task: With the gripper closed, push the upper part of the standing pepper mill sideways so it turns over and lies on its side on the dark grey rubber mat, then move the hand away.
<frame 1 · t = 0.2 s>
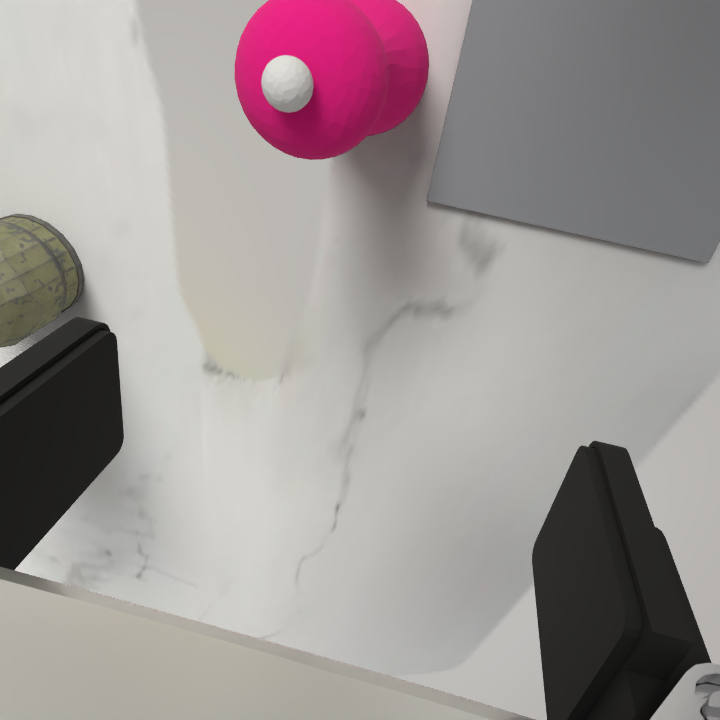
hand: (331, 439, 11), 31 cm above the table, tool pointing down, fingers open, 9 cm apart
mat: (606, 111, 35), on the table
pepper mill: (377, 64, 36), on the table
thermos: (37, 264, 48), on the table
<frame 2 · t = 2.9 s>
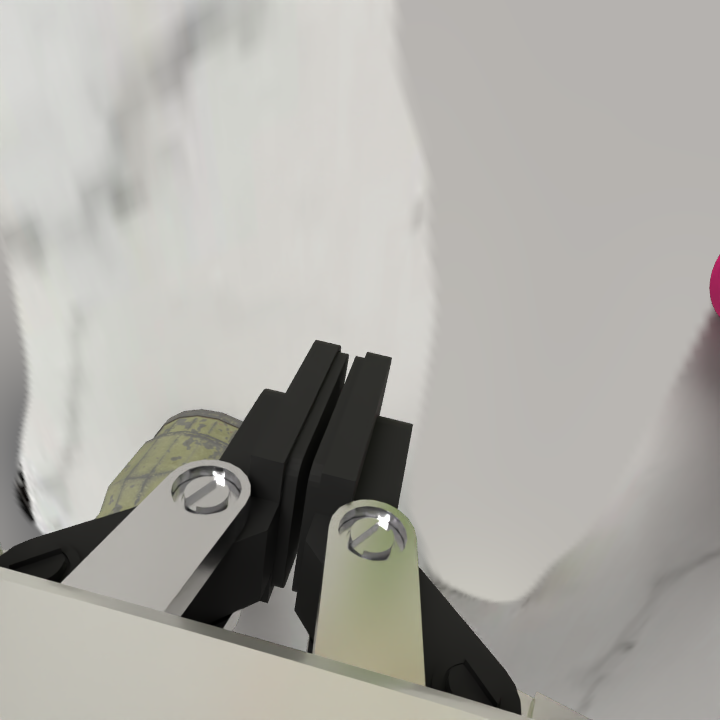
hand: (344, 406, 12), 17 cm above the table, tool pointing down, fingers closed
thermos: (218, 462, 38), on the table
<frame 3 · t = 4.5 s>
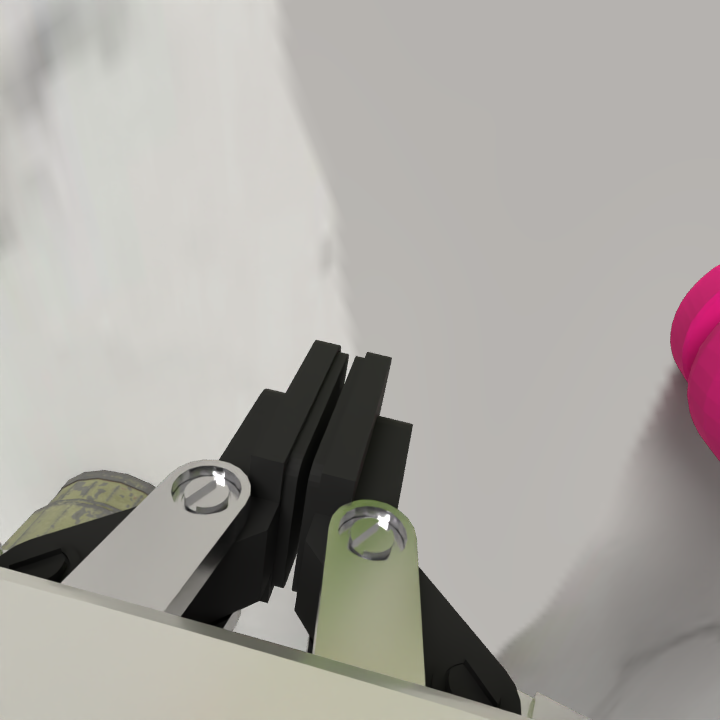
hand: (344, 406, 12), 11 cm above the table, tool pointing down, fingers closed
thermos: (129, 526, 33), on the table
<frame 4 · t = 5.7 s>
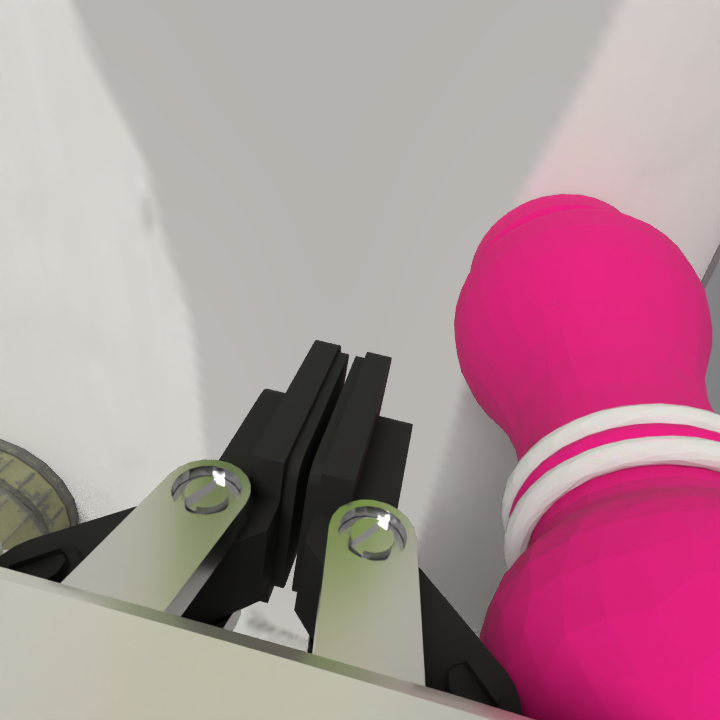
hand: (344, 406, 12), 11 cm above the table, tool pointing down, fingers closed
pepper mill: (553, 275, 21), on the table, touching gripper
thermos: (12, 493, 34), on the table
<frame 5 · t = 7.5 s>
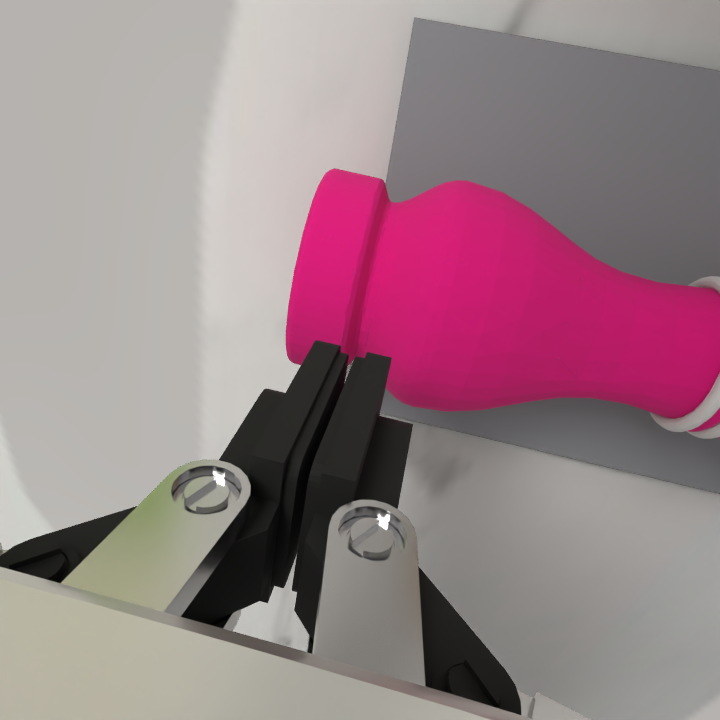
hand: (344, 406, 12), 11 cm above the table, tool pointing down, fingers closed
mat: (625, 294, 21), on the table
pepper mill: (304, 265, 18), point 4 cm above the table, touching mat
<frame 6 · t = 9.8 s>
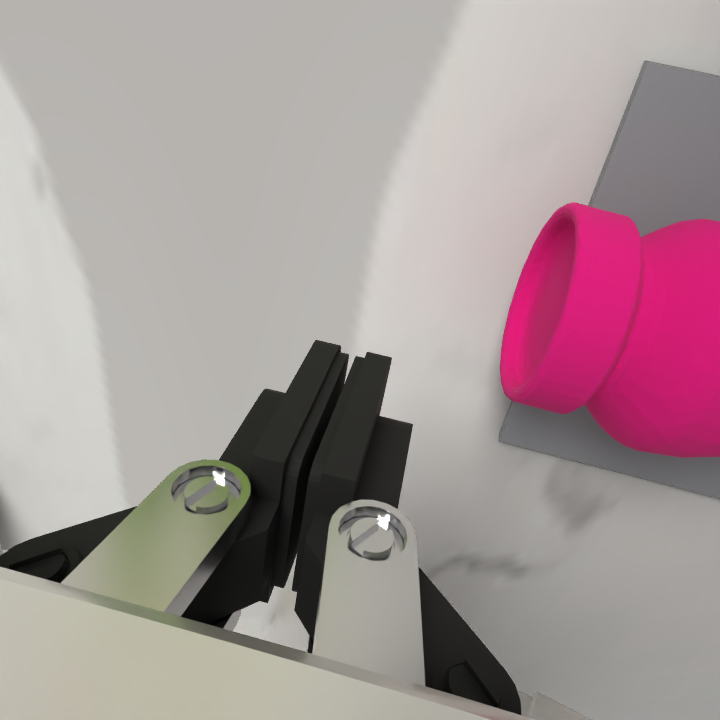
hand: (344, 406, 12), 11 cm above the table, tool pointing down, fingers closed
pepper mill: (527, 300, 18), point 4 cm above the table, touching mat
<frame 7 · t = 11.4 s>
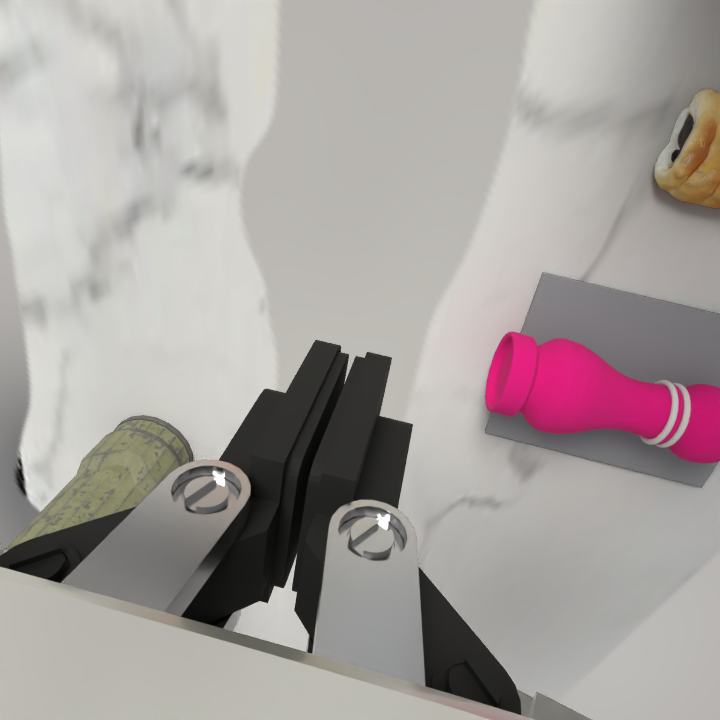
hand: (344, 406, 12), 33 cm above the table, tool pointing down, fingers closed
mat: (626, 385, 46), on the table
pepper mill: (496, 370, 43), point 4 cm above the table, touching mat
thermos: (154, 450, 58), on the table
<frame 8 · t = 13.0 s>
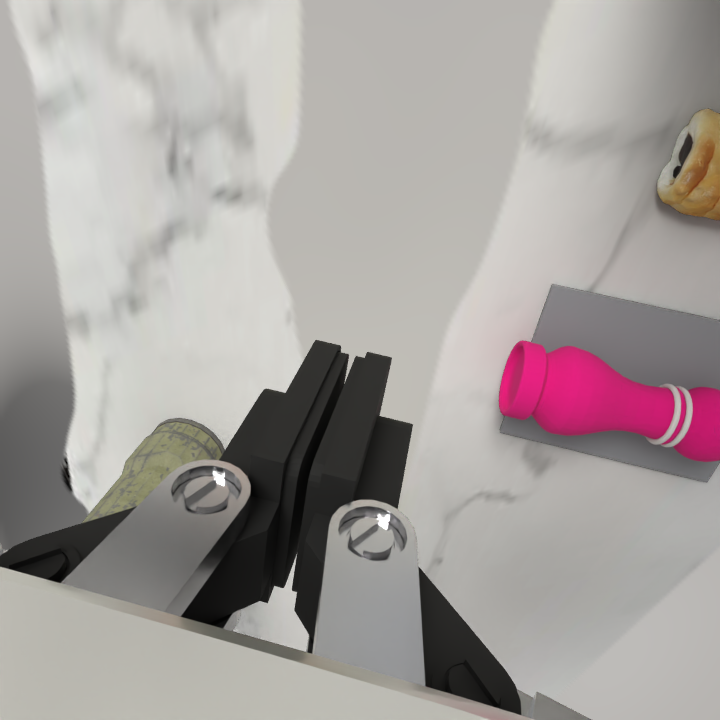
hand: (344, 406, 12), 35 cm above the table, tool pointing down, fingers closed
mat: (633, 387, 49), on the table
pepper mill: (508, 376, 46), point 4 cm above the table, touching mat
thermos: (189, 449, 63), on the table
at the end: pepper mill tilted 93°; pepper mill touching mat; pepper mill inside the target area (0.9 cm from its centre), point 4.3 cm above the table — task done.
